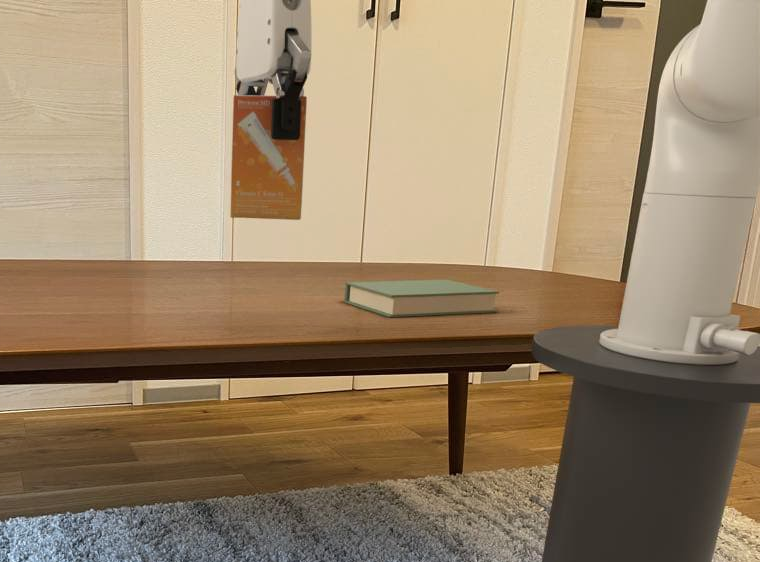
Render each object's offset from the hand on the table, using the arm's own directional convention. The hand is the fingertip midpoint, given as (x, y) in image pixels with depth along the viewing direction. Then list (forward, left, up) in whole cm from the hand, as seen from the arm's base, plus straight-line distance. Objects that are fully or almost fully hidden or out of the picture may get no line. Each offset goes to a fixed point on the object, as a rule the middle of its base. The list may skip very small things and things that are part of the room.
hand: (267, 140), depth 87 cm
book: (+10, -30, -22) cm, 38 cm away
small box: (0, 0, -9) cm, 9 cm away
